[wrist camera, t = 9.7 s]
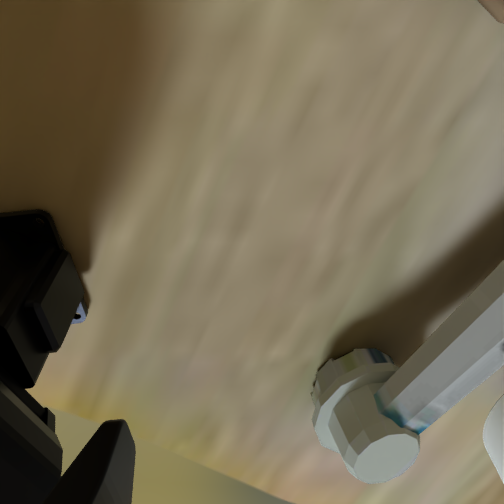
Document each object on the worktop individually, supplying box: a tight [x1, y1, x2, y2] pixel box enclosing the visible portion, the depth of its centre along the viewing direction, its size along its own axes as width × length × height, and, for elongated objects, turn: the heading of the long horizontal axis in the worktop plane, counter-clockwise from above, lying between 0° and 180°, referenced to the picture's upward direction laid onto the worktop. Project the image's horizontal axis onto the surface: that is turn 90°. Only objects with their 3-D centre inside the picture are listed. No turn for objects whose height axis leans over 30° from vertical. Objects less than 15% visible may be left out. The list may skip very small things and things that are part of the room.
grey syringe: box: [311, 260, 504, 484], centre depth 22 cm, size 5×7×25 cm
